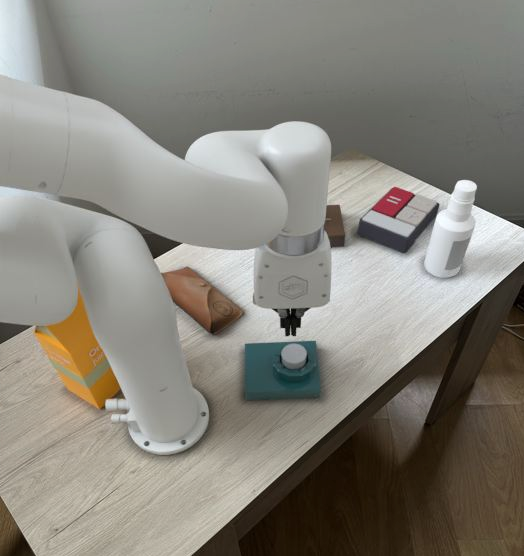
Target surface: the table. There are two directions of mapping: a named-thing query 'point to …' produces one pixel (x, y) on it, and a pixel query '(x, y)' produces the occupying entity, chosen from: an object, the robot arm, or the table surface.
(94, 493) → the table surface
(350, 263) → the table surface
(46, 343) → the orange juice
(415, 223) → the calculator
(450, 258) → the spray bottle
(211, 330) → the sunglasses case
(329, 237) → the selector
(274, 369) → the grey cylindrical knob base
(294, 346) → the grey cylindrical knob
